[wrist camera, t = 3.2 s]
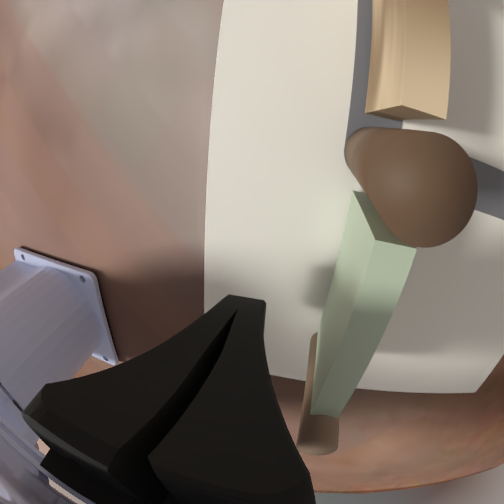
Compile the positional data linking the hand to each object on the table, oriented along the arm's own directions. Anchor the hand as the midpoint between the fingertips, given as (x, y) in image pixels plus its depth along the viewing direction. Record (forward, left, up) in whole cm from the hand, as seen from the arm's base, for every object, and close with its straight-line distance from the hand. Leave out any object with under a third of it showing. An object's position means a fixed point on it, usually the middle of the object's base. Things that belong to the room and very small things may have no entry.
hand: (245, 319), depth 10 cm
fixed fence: (+3, +10, -3) cm, 11 cm away
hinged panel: (+3, +1, -2) cm, 4 cm away
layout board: (+6, +6, -3) cm, 9 cm away
